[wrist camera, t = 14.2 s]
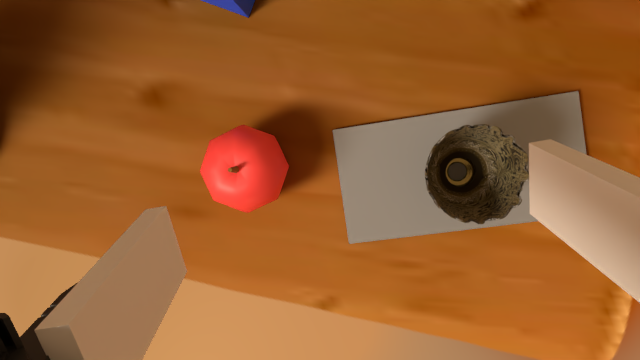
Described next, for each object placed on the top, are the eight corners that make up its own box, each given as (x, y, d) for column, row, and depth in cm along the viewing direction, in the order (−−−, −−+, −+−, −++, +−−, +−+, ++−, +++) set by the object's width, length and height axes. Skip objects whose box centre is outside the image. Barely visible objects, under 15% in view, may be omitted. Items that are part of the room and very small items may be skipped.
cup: (432, 120, 39) (446, 109, 31) (511, 145, 38) (546, 141, 30) (404, 195, 40) (411, 204, 32) (481, 223, 39) (508, 238, 31)
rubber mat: (349, 242, 41) (349, 243, 41) (333, 130, 41) (332, 130, 40) (591, 213, 38) (594, 214, 38) (575, 91, 38) (578, 91, 37)
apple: (313, 165, 41) (298, 166, 34) (260, 224, 42) (233, 239, 35) (254, 111, 42) (225, 99, 34) (203, 170, 43) (164, 173, 35)
